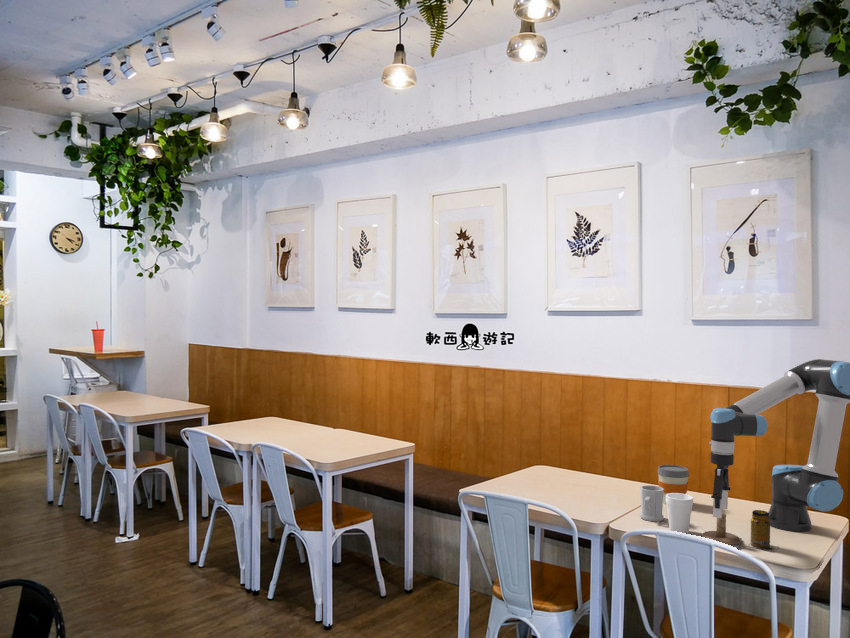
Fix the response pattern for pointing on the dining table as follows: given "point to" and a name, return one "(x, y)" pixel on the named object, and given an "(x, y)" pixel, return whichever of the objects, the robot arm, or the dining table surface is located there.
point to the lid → (722, 533)
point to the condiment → (761, 531)
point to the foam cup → (679, 511)
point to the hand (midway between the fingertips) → (720, 512)
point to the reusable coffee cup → (673, 479)
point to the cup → (651, 503)
